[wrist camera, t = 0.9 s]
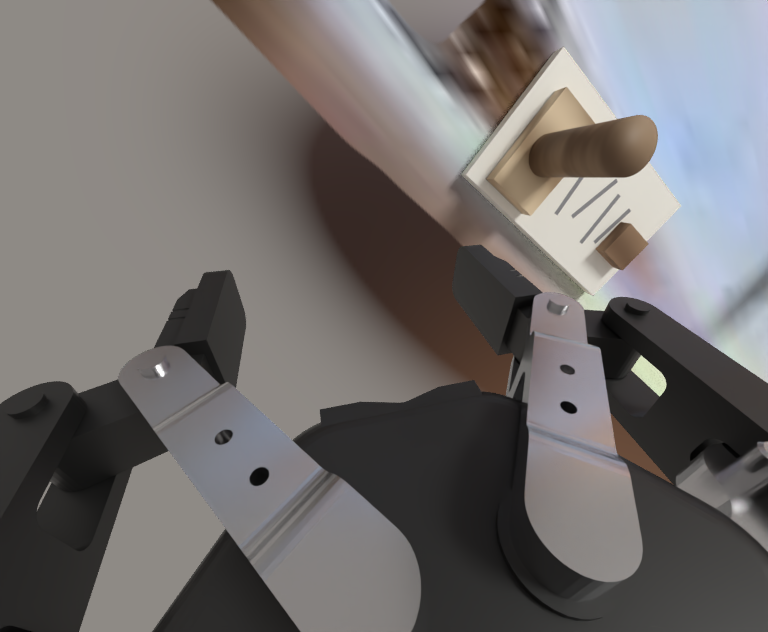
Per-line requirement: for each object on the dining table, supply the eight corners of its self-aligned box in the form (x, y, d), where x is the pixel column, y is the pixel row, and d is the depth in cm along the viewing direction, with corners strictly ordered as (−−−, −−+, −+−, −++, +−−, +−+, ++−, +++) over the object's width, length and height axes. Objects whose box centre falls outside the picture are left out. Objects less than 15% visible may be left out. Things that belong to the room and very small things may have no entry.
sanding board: (554, 52, 32) (563, 46, 30) (669, 204, 40) (681, 205, 38) (460, 174, 35) (466, 174, 34) (585, 292, 43) (593, 295, 42)
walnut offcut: (620, 221, 38) (631, 223, 37) (637, 241, 40) (648, 243, 38) (595, 248, 39) (604, 251, 38) (612, 267, 41) (622, 270, 39)
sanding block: (553, 91, 32) (668, 47, 21) (587, 134, 34) (708, 114, 23) (485, 178, 34) (555, 180, 23) (521, 213, 36) (601, 229, 25)
